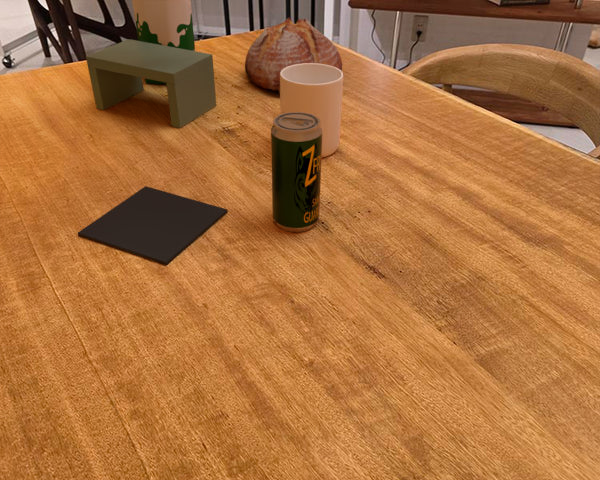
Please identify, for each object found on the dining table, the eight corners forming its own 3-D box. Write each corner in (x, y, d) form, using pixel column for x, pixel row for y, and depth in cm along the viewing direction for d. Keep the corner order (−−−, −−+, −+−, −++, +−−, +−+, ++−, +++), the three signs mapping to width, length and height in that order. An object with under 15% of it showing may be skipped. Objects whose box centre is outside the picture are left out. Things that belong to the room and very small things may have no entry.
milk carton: (189, 88, 101) (174, -46, 88) (138, 84, 101) (116, -49, 89) (202, 71, 107) (191, -56, 94) (154, 68, 108) (137, -58, 95)
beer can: (265, 227, 67) (262, 126, 59) (283, 205, 71) (282, 107, 63) (309, 237, 66) (311, 135, 58) (325, 214, 70) (329, 115, 62)
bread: (314, 62, 115) (319, 6, 109) (355, 98, 100) (363, 35, 94) (232, 65, 110) (232, 6, 104) (263, 103, 95) (266, 38, 89)
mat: (78, 235, 65) (77, 232, 65) (146, 188, 74) (145, 185, 73) (166, 265, 61) (165, 262, 61) (227, 212, 70) (227, 209, 69)
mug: (279, 124, 89) (279, 54, 83) (334, 124, 90) (337, 54, 83) (281, 160, 80) (280, 84, 74) (341, 160, 80) (346, 84, 74)
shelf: (96, 108, 93) (85, 56, 88) (136, 88, 100) (128, 39, 95) (179, 128, 88) (173, 73, 83) (216, 105, 95) (212, 54, 90)
